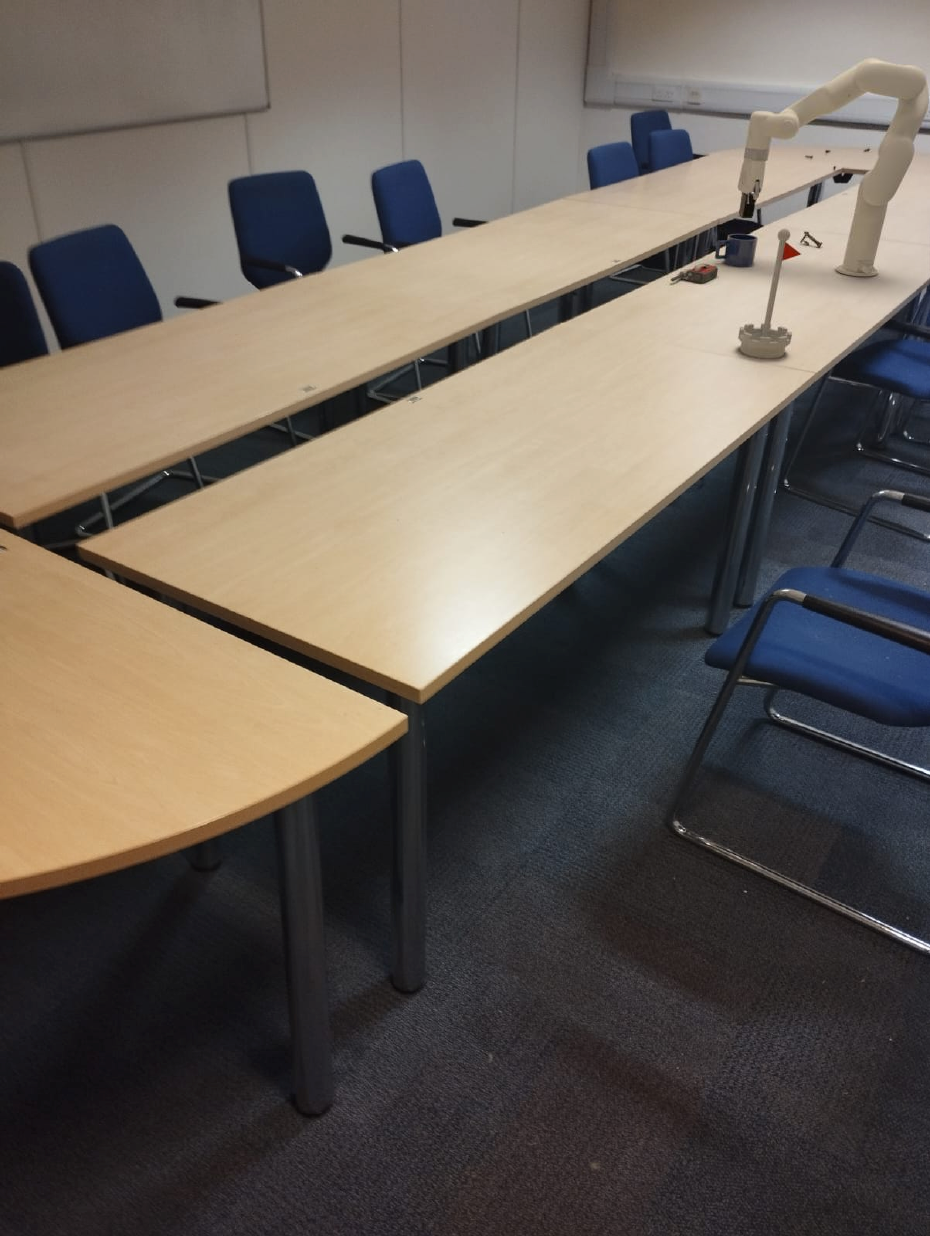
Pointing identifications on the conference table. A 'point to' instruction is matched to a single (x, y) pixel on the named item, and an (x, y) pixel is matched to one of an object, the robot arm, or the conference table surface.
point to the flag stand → (769, 315)
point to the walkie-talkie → (698, 273)
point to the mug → (738, 250)
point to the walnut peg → (743, 205)
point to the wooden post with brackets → (810, 239)
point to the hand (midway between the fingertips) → (745, 214)
